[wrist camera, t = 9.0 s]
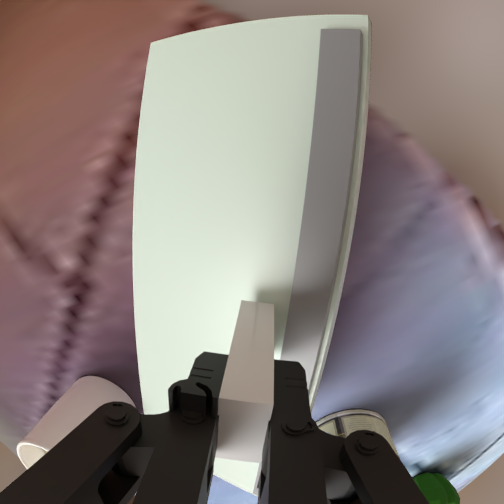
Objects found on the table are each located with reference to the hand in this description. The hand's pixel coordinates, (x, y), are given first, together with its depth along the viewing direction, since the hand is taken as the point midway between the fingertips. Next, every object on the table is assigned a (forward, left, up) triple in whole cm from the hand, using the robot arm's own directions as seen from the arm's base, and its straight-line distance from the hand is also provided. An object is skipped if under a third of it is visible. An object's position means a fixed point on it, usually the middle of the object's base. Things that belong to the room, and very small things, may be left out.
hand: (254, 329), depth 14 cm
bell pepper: (+28, -32, -12) cm, 44 cm away
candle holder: (-15, -19, -12) cm, 27 cm away
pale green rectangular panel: (-2, 0, -2) cm, 3 cm away
